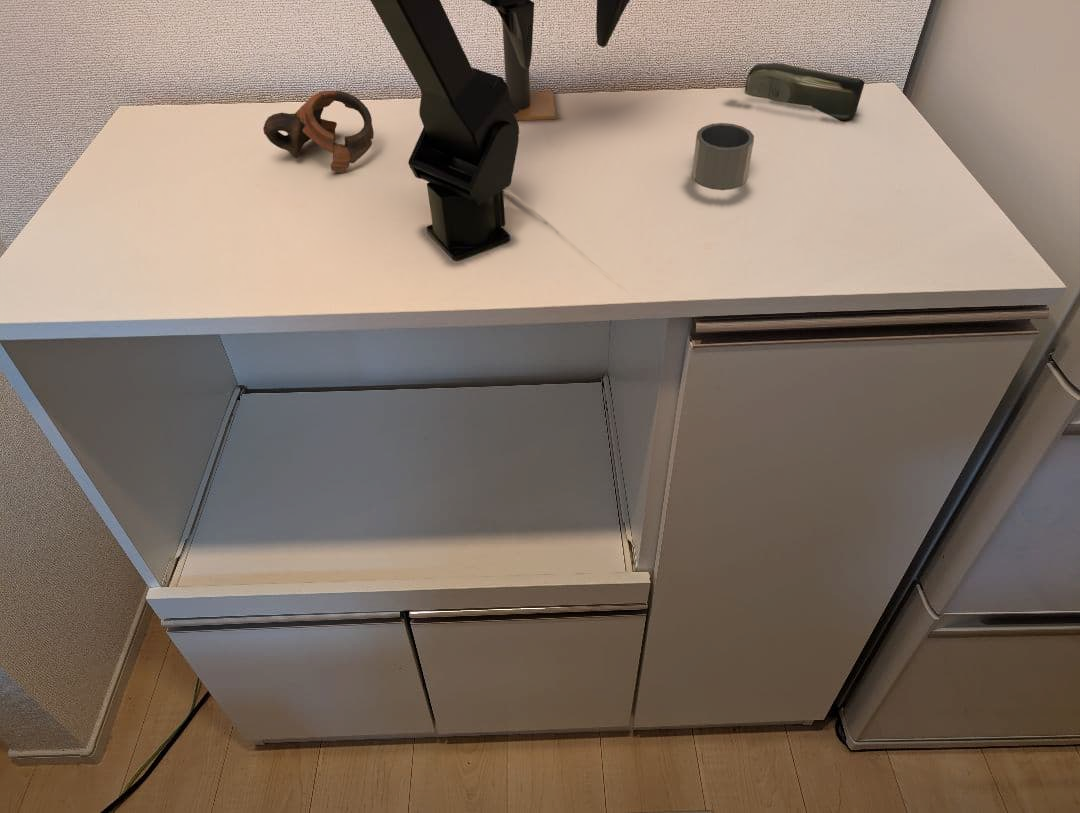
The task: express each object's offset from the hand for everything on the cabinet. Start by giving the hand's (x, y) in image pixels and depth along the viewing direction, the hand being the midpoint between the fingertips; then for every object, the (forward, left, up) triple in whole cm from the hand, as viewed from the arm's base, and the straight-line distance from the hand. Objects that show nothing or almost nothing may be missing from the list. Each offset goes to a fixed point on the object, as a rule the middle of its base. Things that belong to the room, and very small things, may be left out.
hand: (564, 56), depth 80 cm
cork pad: (+4, +17, -13) cm, 22 cm away
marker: (+4, +17, -13) cm, 22 cm away
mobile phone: (+32, -3, -13) cm, 35 cm away
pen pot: (+12, -12, -13) cm, 21 cm away
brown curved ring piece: (-21, +19, -13) cm, 31 cm away
